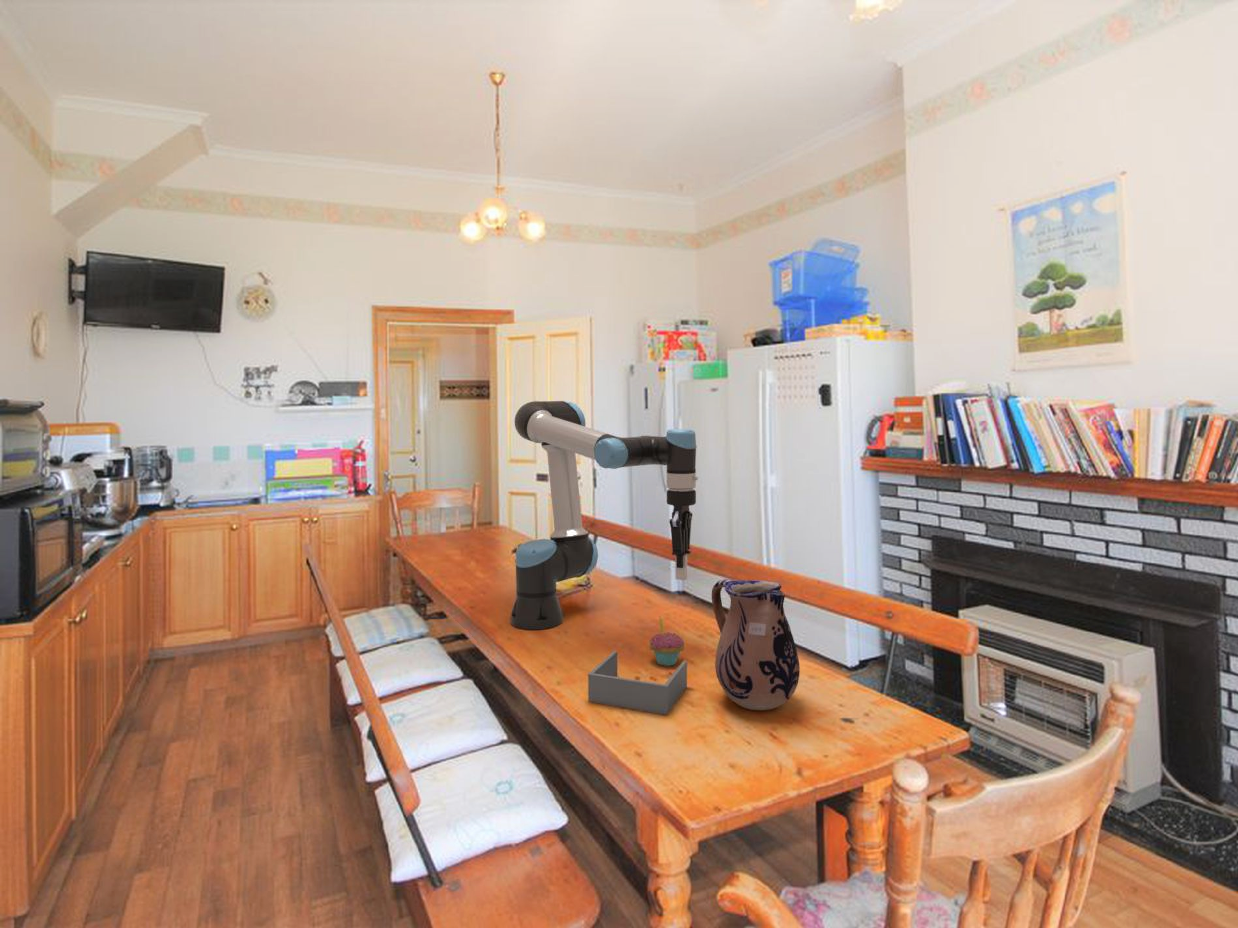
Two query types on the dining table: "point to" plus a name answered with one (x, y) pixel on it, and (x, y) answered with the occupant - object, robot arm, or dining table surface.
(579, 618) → the dining table surface
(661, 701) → the box
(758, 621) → the ceramic pitcher
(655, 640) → the cupcake
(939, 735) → the dining table surface
